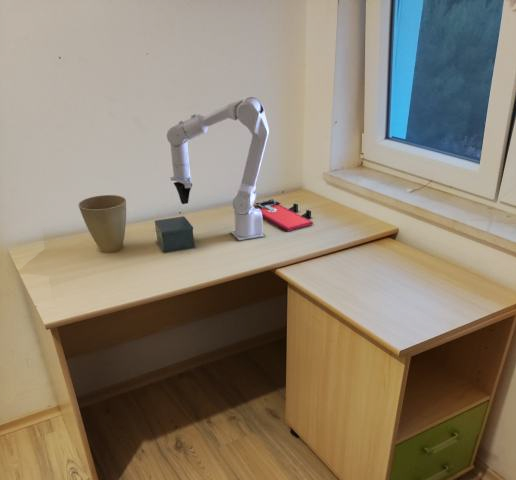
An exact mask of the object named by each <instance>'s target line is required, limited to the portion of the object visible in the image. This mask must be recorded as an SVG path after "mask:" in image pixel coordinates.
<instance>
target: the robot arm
mask: <svg viewBox="0 0 516 480" xmlns="http://www.w3.org/2000/svg"><path fill="white" fill-rule="evenodd" d="M265 111H266V110H265V107H264V105H263V104H262V103H261V101H260V100H259V99H258V97H257V98H256V97H254V96H248V97H247V98H245V99H240V100H237V101H234V102H231V103H229V104H226V105H224V106H223V107H221V108H219V109H216V110H215V111H213V112H211V113H209V114H207V115H201V114H196V113H194V114H192V115H190V118H188V119H186V120H184V121H183V120H180V121H178V123H177V124H175V125H173V126H171V127H169V129H168V130H167V132H166V139H167V141H168V143H169V145H170V154H171V163H172V173H173V176H170V178H169V179H170V181H172V182H173V181H174V182H173V185H174V187H175V188H176V192H177V193H178V197H179V200H180V203H181V205H187V204H189V200H190V192H191V190H192V187H193V183H192V175H191V166H190V154H189V145H188V141H190V140H192V139H195V138H197V137H200V136H201V135H204V134H206V133H207V132H208V129H209V127H210V126H213V125H215V124H218V123H220V122H223V121H225V120H227V119H230V120H233V121H237V120H238V121H239V122H240V123H241V124H242V125H244V126H245V127H246V128H247V129H248V130H249V133H251V136H252V137H251V139H250V144H249V148H248V153H247V157H246V161H245V166H244V170H243V174H242V178H241V182H240V185H239V188H238V191H237V194H236V196H235V197H234V198H233V199H232V208H233V211H234V230H233V231H231V234H232V235H233V236H234V237H235V238H236V239H237V240H238V241H244V240H250V239H255V238H261V237H264V236H265V235H264V219H263V218H264V217H262V213H261V211H260V209H261V208H255V205H254V203H256V200H257V194H256V189H257V181H258V177H259V173H260V170H261V165H262V161H263V157H264V155H265V154H264V153H265V150H266V145H267V142H268V139H269V135H270V128H269V124H268V121H267V117H266V112H265Z"/></svg>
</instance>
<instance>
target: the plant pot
mask: <svg viewBox="0 0 516 480" xmlns="http://www.w3.org/2000/svg"><path fill="white" fill-rule="evenodd" d="M77 205H78V209H79V212H80V214H81V217H82V219H83V221H84V224H85V225H86V228H87V230H88V233H89V234H90V236H91V238H92V239H93V241H94V242H95V243H96V244H95V245H96V246H97V247H98V249H99V250H100V251H101V252H103V253H115V252H118V251H120V250H122V248H123V245H124V240H125V234H126V225H127V199H126V198H125V197H124V196H121V195H116V194H104V195H95V196H90V197H88V198H87V197H86V198H84V199H82V200H80V201H79V203H78V204H77Z"/></svg>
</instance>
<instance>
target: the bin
mask: <svg viewBox="0 0 516 480" xmlns="http://www.w3.org/2000/svg"><path fill="white" fill-rule="evenodd" d="M154 226H155V227H154V228H155V234H156V242H157V244H158V245H159V246H160V248H161V250H162V251H163V253H164V254H165V253H170V252H176V251H181V250H187V249H193V248H195V239H194V228H193V229H192V230H186V231H179V232H173V233H167V234H162V233H161V231H160V230H159V228H158V227H157V225H156V224H155V223H154Z"/></svg>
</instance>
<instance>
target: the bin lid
mask: <svg viewBox="0 0 516 480" xmlns="http://www.w3.org/2000/svg"><path fill="white" fill-rule="evenodd" d="M155 224H156V225H157V227H158V228H159V230H160V231H161V233H162V234H167V233H173V232H179V231H186V230H192V229H193V230H194V226H193V225H192V224H191V222H190V221H189V220H188V219H187V218H186V217H185V215H183V216H177V217H170V218H162V219H157V220H154V225H155Z"/></svg>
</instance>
